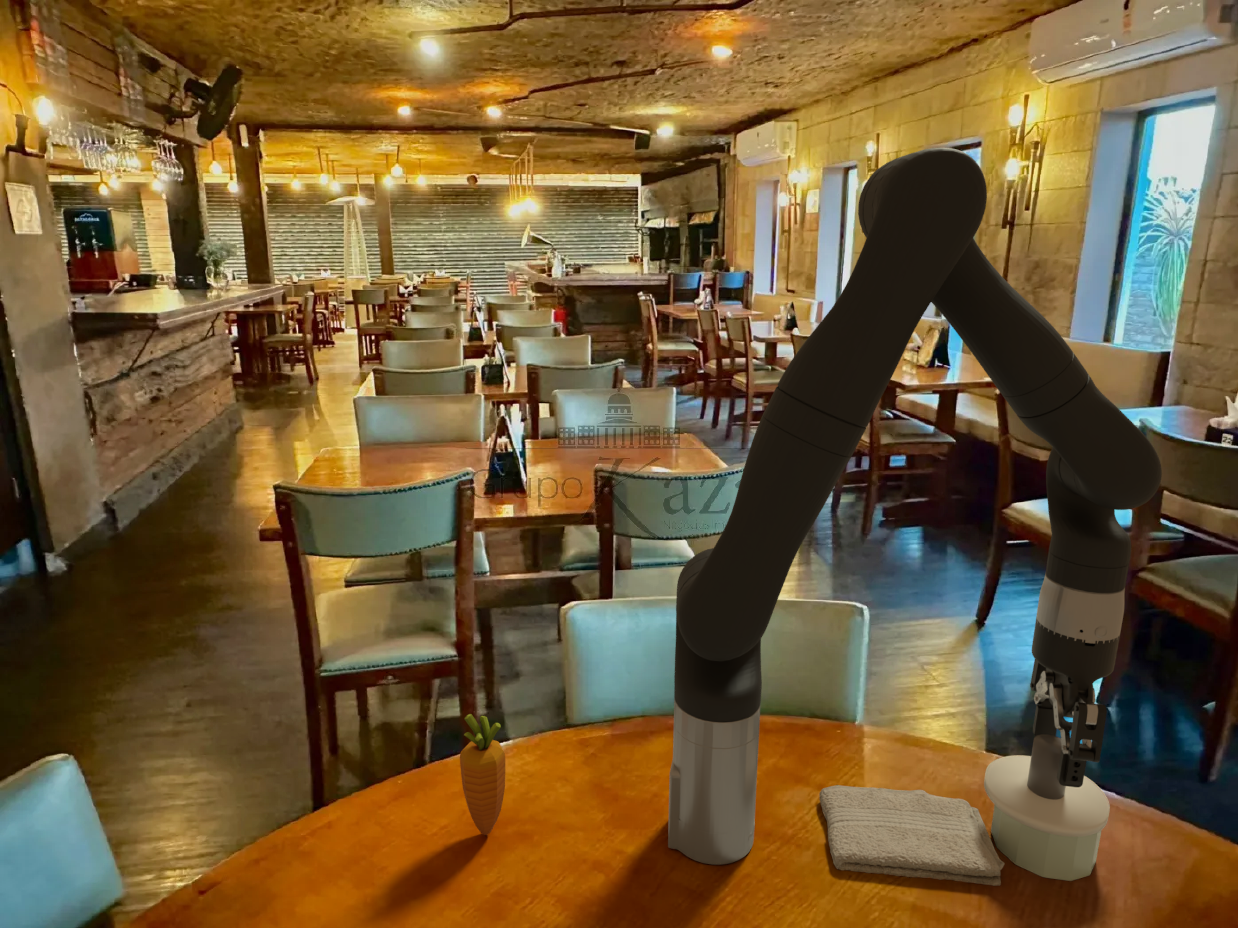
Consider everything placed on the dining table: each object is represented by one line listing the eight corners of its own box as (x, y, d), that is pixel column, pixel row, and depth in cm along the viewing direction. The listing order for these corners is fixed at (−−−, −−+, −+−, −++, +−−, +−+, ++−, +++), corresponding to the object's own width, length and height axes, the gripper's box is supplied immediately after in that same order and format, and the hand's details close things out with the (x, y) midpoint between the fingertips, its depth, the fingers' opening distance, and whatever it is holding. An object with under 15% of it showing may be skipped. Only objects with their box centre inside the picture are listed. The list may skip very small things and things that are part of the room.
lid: (998, 826, 82) (1006, 770, 80) (973, 758, 93) (980, 707, 92) (1126, 844, 80) (1137, 787, 78) (1085, 772, 91) (1094, 720, 89)
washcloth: (1008, 892, 82) (1012, 867, 81) (831, 876, 84) (833, 851, 83) (972, 815, 94) (975, 792, 93) (817, 802, 96) (819, 780, 95)
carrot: (517, 833, 89) (513, 715, 86) (481, 856, 86) (476, 734, 82) (489, 813, 93) (484, 698, 89) (454, 834, 89) (447, 716, 86)
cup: (1005, 871, 84) (1012, 823, 83) (983, 809, 94) (989, 765, 92) (1108, 886, 82) (1118, 837, 81) (1075, 821, 92) (1083, 776, 90)
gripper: (1019, 590, 89) (1001, 719, 93) (1060, 649, 75) (1037, 797, 79) (1092, 596, 87) (1071, 726, 91) (1148, 657, 74) (1120, 807, 78)
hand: (1055, 759), depth 85 cm, fingers open, 8 cm apart
